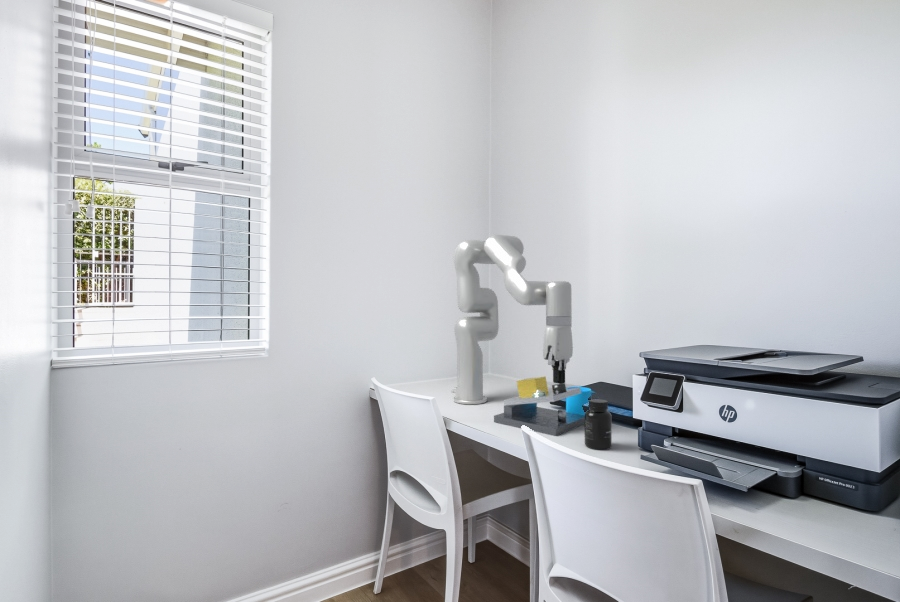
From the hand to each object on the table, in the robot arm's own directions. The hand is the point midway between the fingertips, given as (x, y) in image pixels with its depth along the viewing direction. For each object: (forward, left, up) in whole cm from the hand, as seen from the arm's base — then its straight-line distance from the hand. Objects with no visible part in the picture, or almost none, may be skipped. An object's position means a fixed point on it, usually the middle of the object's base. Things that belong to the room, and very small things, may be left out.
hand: (559, 382), depth 146 cm
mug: (-3, +20, -14) cm, 24 cm away
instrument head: (-6, 0, -6) cm, 8 cm away
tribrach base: (-7, 0, -13) cm, 15 cm away
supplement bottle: (+17, -10, -13) cm, 24 cm away
